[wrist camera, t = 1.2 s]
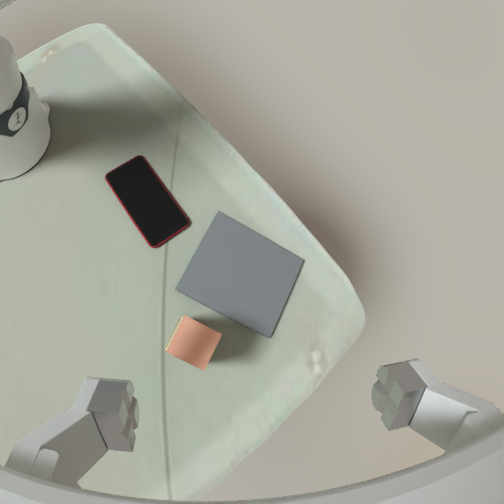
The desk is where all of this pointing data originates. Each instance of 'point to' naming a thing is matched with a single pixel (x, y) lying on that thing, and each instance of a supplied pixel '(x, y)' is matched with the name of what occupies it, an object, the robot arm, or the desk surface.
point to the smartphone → (147, 201)
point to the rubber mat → (241, 275)
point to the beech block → (192, 342)
